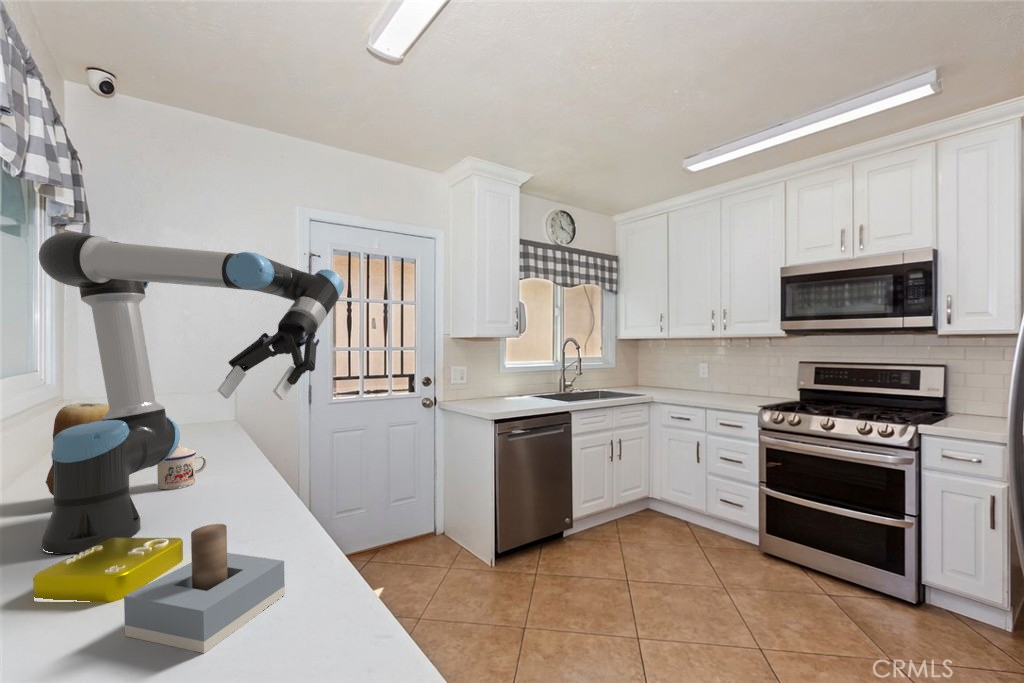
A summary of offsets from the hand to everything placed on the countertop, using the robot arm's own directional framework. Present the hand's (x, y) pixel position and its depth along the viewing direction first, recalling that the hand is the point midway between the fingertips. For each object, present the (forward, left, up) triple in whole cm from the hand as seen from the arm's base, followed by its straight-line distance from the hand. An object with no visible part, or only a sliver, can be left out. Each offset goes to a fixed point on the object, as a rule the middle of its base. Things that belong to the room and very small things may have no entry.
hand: (249, 395), depth 92 cm
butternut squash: (-64, +10, -30) cm, 71 cm away
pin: (+13, -21, -28) cm, 37 cm away
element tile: (-13, -16, -30) cm, 37 cm away
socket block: (+13, -21, -30) cm, 38 cm away
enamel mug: (-52, +27, -30) cm, 66 cm away
